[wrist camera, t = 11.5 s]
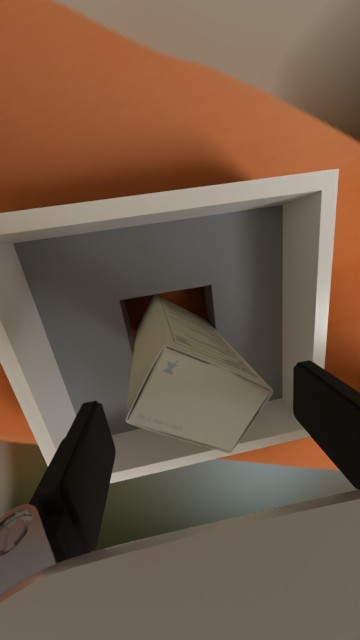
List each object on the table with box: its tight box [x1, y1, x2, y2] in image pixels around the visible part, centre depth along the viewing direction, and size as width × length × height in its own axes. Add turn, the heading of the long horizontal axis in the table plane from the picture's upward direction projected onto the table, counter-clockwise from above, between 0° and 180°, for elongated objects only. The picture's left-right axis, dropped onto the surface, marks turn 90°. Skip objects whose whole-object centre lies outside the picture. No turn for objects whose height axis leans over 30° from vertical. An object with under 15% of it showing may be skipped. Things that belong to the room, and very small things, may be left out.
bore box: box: [0, 169, 339, 483], centre depth 18 cm, size 22×20×7 cm
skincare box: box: [125, 295, 273, 453], centre depth 16 cm, size 6×4×12 cm
